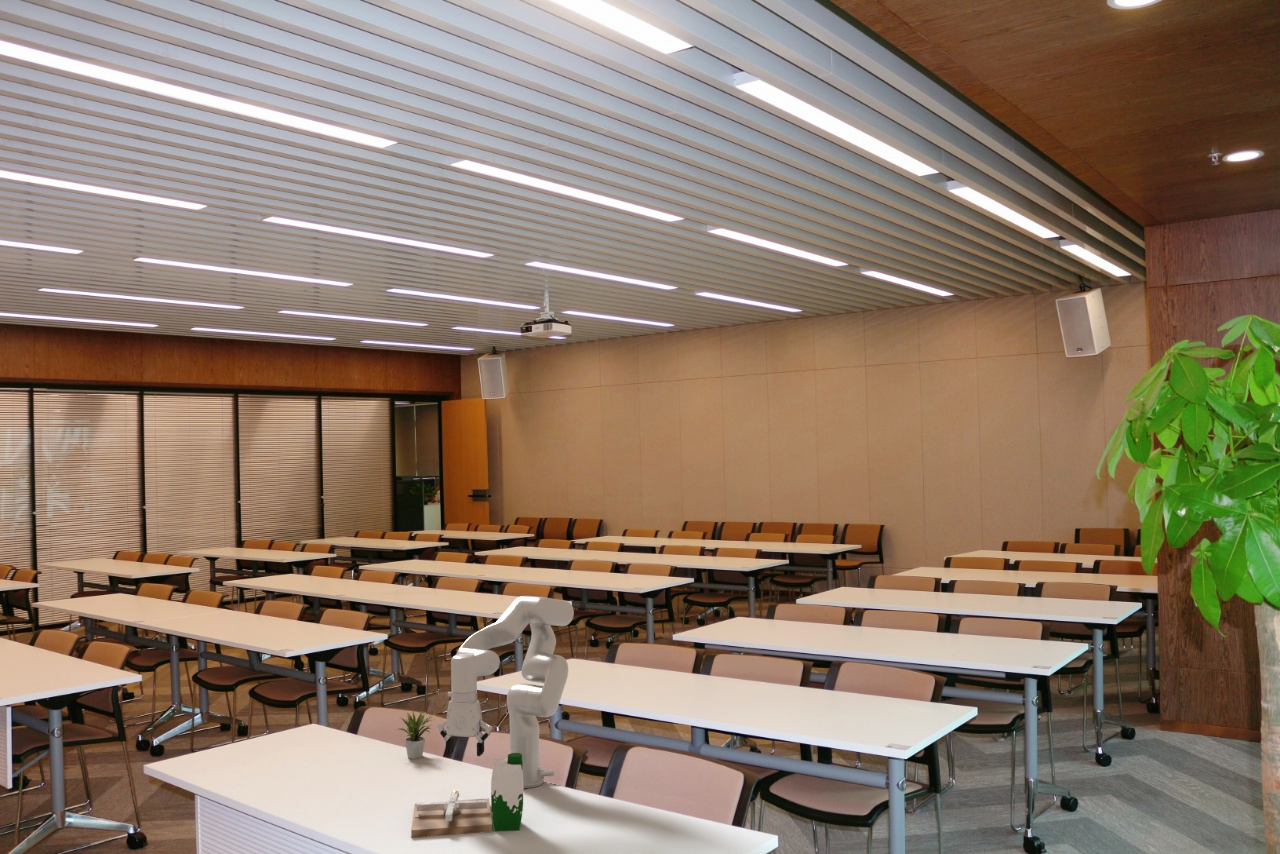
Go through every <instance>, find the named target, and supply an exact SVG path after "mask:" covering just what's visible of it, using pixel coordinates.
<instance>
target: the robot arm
mask: <svg viewBox="0 0 1280 854" xmlns="http://www.w3.org/2000/svg"><path fill="white" fill-rule="evenodd" d="M574 613H575V612H574V607H573V604H571V602H569V601H568V600H564V599H555V598H550V597H544V596H535V595H534V596H532V595H521V596H518V597H516V598H515V599H514V600H513V601H512V602H511V604H510V605H509V606H508V607H507V608H506V610H504V612H503V613H502V614H501V615H500V617H499V618H497V620H496V622H494V623H492V624H490V625H487V626H486V627H484V628H482V629H480V630H478V631H476V632H474V633H473V634H471V636H469V637H468V638H467V639H466V640H465V641H464V643H462V645H461V646H460V647H459V649H457V652H456V654H455V655H453V657H452V658H451V661H450V665H451V666H450V670H451V671H450V674H451V675H450V678H451V681H450V682H451V684H450V685H451V690H450V691H448V692H447V695H446V696H447V697H450V700H449V701H448V705H447V711H446V719H445V720H444V721H442V722H440V723H439V724H437V729H438V731H439V734H440V735H441V736H442V738H443V741H445V751H446V755H451V754H452V753H453V752H454V747H455V746H454V738H453V737H463V738H464V737H466V738H475V739H476V741H478V742H476V756H477V757H480V756H482V755H483V754H484V752H485V741H486V740H487V739H488V738H489V736H490V735H491V732H492V730H493V726H492V725H490V724H488V723H487V722H485V721H483V716H482V714H483V713H482V709H481V703H480V700H479V699H478V683H477V682H478V681H477V680H478V679H477V678H478V677H485V676H486V677H487V676H491V675H492V674H494V673H495V672H497V670H498V669H499V667H500V663H501V661H500V656H499V655H498V653H496V652H495V651H494V650H490V649H492V648H498V647H501V646H505V645H508V644H512V643H513V642H515V641H516V640H517V639H518V637H519V636H520V635H521V634H522V632H523V631H524V630H525V629H526V628H527V626H528V625H529V626H530V631H531V637H530V638H531V640H530V641H529V645H528V649H527V651H526V654H525V657H524V659H523V661H522V662H523V663H522V667H521V676H522V678H523V679H524V680H526V681H528V682H533V683H541V684H543V685H537V684H530V683H517V684H514V685H512V686H511V687H510V688H509V689H508V692H507V695H506V705H507V710H508V716H509V754H511V753H520V754H522V762H523V766H522V770H523V789H532V788H537V787H539V786H541V785H543V784H544V783H545V777H554V774H555V773H554V772H555V771H554V769H550V768H541V765H540V724H539V721H538V719H537V717H539V718H549V717H552V716H554V714H555V713H556V712H557V710H558V707H559V704H560V701H561V699H562V695H563V693H564V690H565V687H566V683H567V680H568V676H569V665H568V661H567V659H566V658H565V657H563V655H559V654H554V653H555V650H556V649H555V648H556V645H557V639H556V635H555V633H554V630H553V628H552V626H557V627H566V626H568V625H569V624H570V623H571V622H572V620H573V619H574ZM483 729H484V730H485V732H484V733H483Z"/></svg>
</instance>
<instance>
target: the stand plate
mask: <svg viewBox="0 0 1280 854" xmlns="http://www.w3.org/2000/svg"><path fill="white" fill-rule="evenodd" d="M473 800H487V808H484V809H461V813H460V814H459V815H455V816H453V819H452V821H445V815H444V814H443V810H434V811H417V803H418V802H415V803H414V806H413V808H414V809H413V816H412V821H411V828H410V829H411V831H410V832H411V833H410V834H411V835H410V837H411V839H412V838H424V837H437V836H452V835H465V834H476V833H477V834H478V833H480V834H481V833H491V832H492V831H493V820H492V812H491V801H490V798H478V799H477V798H476V799H462V800H459V799H458V801H473ZM446 801H447V800H446ZM446 801H444V802H446Z"/></svg>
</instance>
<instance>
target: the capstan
mask: <svg viewBox="0 0 1280 854" xmlns="http://www.w3.org/2000/svg"><path fill="white" fill-rule="evenodd" d="M459 797H460V792H459V790H453V791H451V794H450V799H449V800H446V802H445V801H431V802H428V801H426V802H425V801H424V802H416V803H417V811H434V810H443V814H444V815H445V821H452V819H453V816H455V815H459V814H460V813H461V809H484V808H487V800H473V799H472V800H473V801H459Z"/></svg>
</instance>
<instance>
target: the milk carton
mask: <svg viewBox="0 0 1280 854" xmlns="http://www.w3.org/2000/svg"><path fill="white" fill-rule="evenodd" d="M522 766H523V762H522V754H520V753H511V754H510V753H508V754H507V757H506V758H502V759H501V758H500V759H497V758H496V759H494V762H493V767H492V773H491V781H490V785H491V786H490V790H491V791H490V795H491V796H490V800H491V801H490V811H491V820H492V827H493V831H494V832H511V831H512V832H513V831H516V832H517V831H520V830H521V826H522V824H521V823H522V816H523V811H524V788H523V770H522Z"/></svg>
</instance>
